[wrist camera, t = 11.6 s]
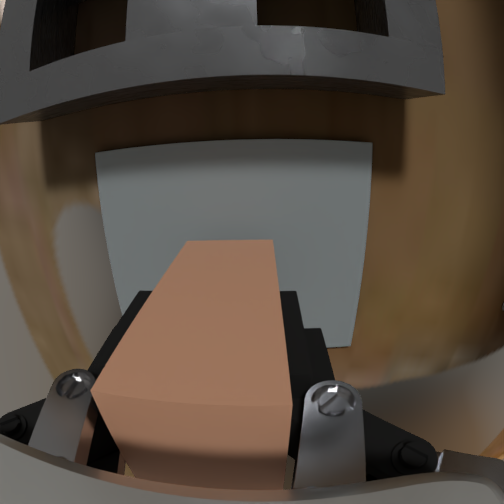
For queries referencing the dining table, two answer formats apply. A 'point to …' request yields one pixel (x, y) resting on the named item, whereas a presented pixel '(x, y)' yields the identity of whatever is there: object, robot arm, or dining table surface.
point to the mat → (245, 215)
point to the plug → (204, 373)
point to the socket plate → (211, 54)
